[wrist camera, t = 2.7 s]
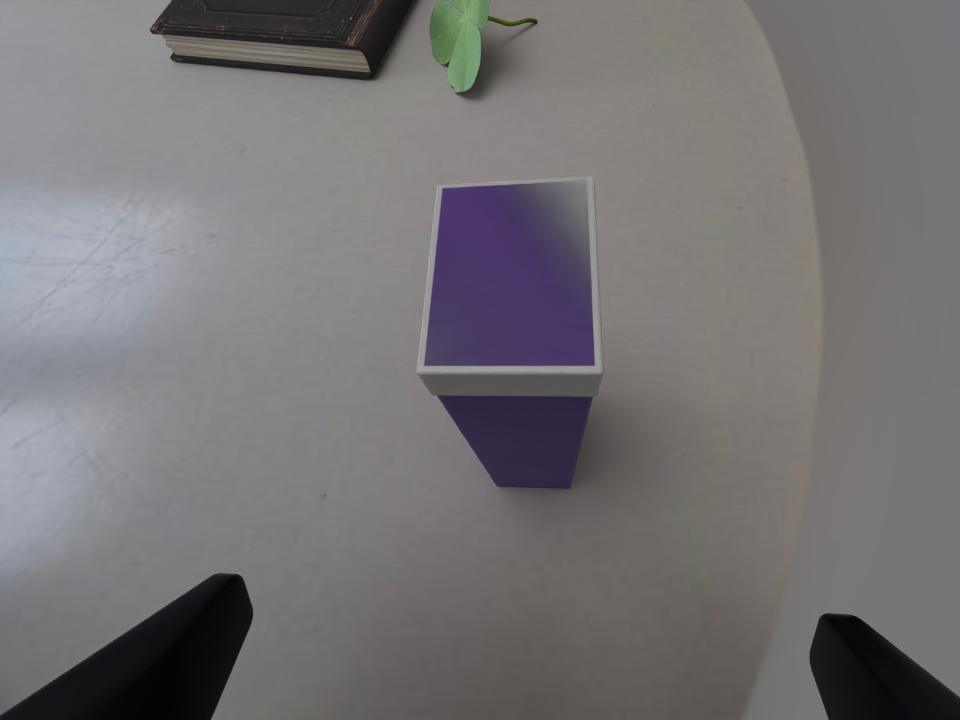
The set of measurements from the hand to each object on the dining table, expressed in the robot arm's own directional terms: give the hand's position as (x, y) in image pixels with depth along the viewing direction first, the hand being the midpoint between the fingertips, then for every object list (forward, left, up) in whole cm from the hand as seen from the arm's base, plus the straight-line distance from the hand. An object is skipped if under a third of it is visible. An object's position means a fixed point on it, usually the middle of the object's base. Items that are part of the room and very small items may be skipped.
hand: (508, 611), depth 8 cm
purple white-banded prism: (+5, +2, -12) cm, 13 cm away
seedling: (+27, +12, -12) cm, 32 cm away
